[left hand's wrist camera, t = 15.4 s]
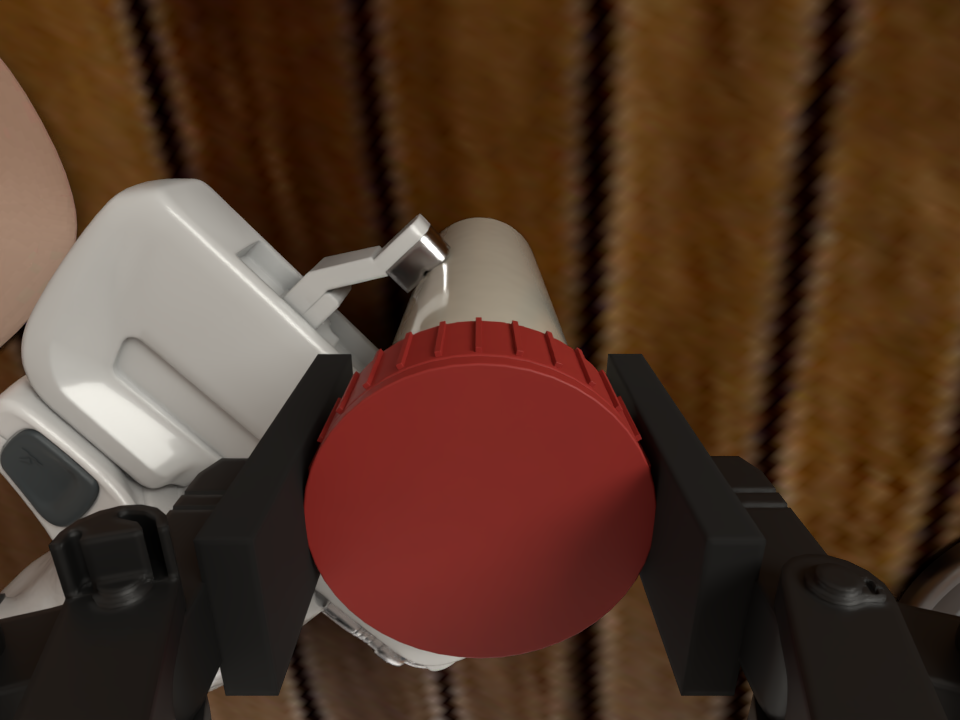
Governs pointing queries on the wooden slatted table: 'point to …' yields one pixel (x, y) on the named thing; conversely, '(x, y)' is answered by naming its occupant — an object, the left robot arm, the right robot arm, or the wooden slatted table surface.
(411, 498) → the lid
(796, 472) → the wooden slatted table surface
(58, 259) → the anatomical model
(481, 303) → the white cylindrical bottle
